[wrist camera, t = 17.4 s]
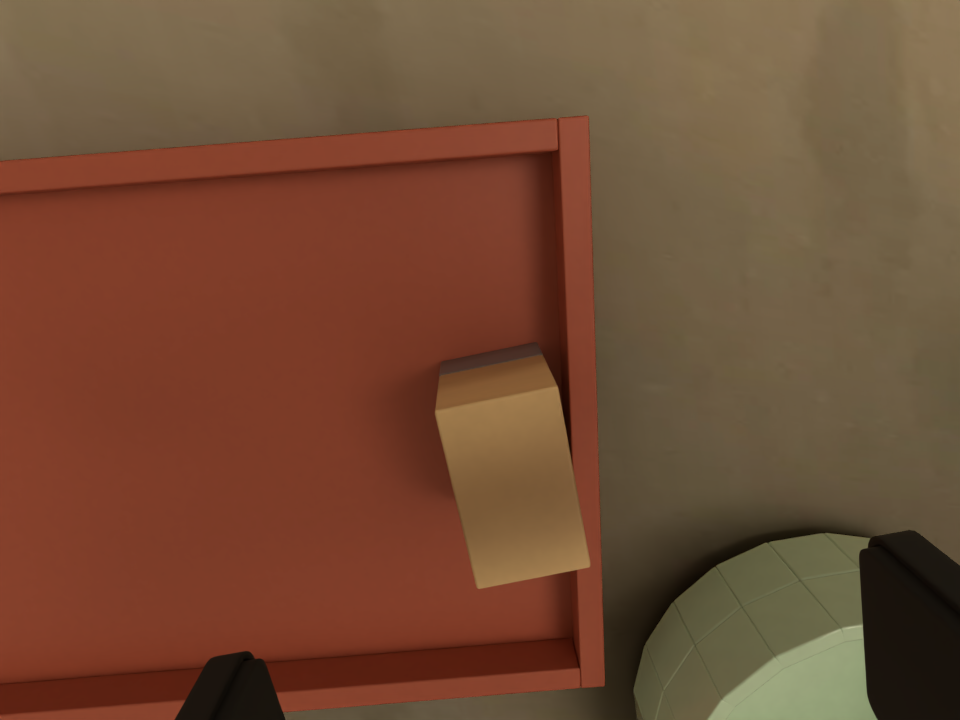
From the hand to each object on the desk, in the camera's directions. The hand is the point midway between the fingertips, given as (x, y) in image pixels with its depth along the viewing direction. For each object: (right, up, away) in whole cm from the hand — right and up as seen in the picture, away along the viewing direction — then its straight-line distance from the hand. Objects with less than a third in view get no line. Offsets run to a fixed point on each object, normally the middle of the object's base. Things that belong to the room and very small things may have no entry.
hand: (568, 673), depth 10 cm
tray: (-15, +2, +11) cm, 18 cm away
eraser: (-1, +3, +10) cm, 11 cm away
